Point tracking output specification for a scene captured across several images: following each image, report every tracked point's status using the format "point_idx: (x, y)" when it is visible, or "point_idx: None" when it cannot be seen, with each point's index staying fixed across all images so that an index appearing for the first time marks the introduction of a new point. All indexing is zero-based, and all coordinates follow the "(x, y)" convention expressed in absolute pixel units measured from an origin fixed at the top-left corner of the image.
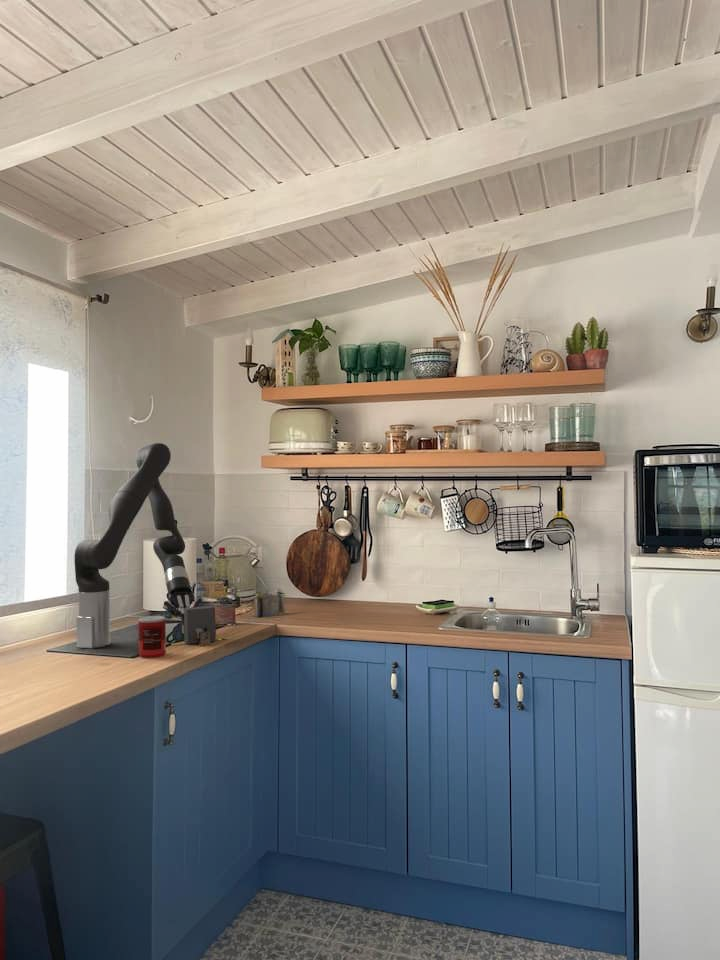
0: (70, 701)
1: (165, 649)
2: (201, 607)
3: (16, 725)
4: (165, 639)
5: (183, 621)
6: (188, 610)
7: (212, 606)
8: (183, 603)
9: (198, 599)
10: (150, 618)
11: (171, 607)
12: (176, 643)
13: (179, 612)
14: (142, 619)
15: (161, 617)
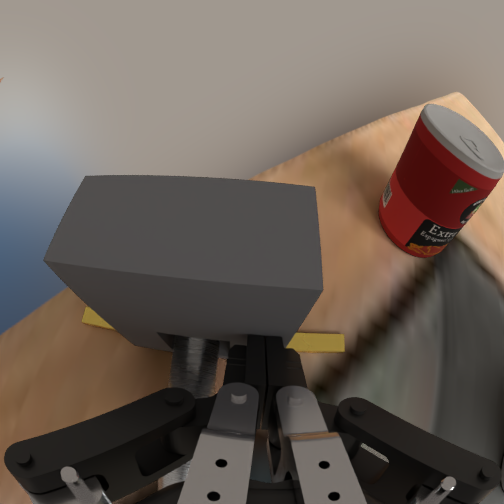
0: (450, 103)
1: (382, 195)
2: (153, 225)
3: (460, 94)
4: (394, 174)
5: (293, 356)
6: (302, 190)
7: (65, 221)
8: (271, 499)
9: (34, 471)
10: (474, 146)
11: (420, 438)
12: (321, 341)
13: (326, 417)
14: (491, 153)
15: (440, 128)
